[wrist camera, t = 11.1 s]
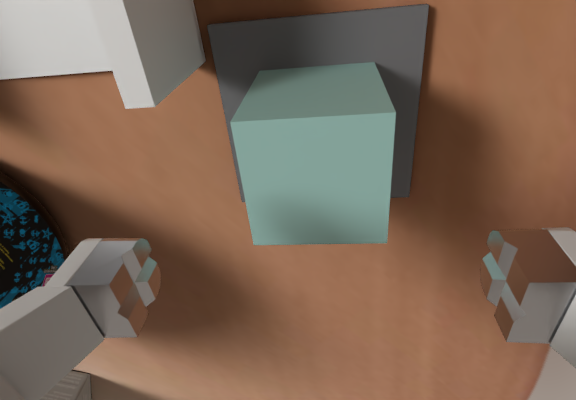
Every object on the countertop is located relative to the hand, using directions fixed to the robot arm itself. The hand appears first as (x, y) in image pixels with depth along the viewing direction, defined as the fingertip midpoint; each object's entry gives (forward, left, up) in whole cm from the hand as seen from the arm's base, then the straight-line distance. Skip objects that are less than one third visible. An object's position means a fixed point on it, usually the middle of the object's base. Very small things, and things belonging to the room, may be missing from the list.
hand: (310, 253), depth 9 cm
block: (+1, 0, -10) cm, 10 cm away
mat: (+1, 0, -10) cm, 10 cm away
